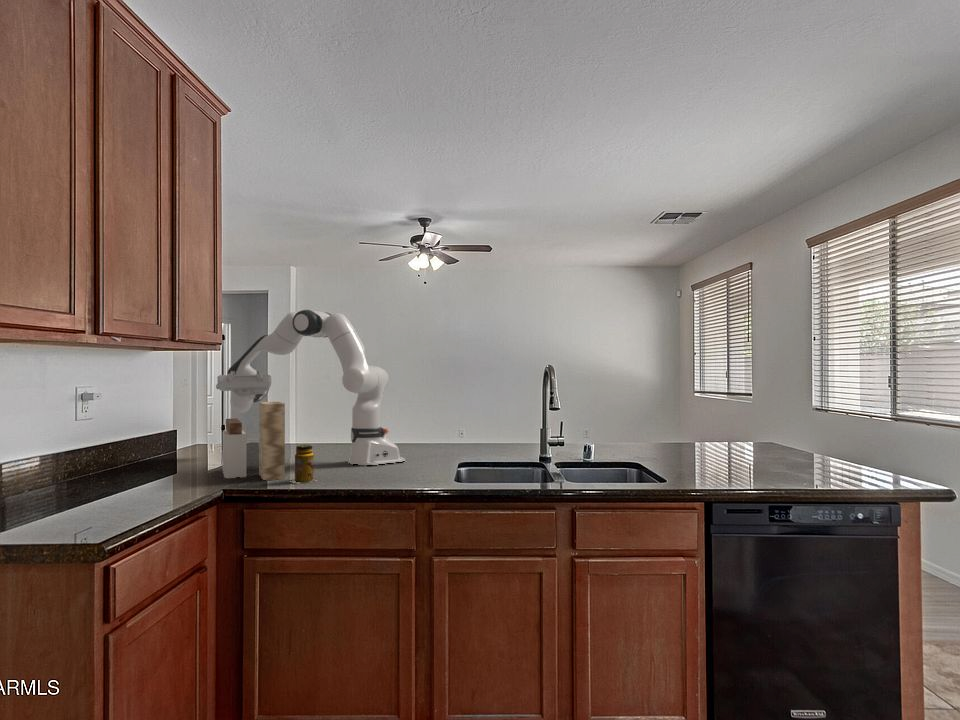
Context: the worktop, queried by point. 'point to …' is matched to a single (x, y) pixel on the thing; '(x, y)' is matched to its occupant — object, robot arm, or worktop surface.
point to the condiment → (304, 464)
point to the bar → (233, 426)
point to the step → (234, 455)
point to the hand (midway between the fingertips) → (246, 372)
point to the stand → (272, 440)
